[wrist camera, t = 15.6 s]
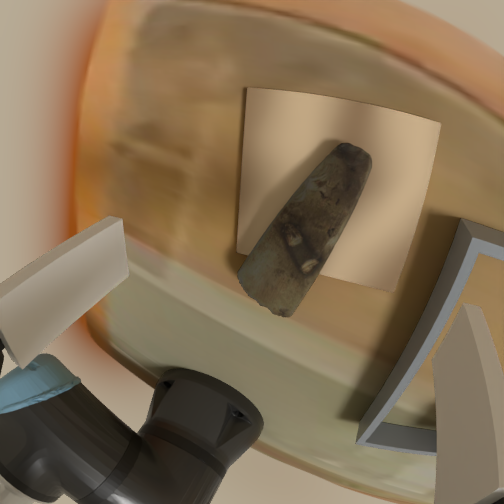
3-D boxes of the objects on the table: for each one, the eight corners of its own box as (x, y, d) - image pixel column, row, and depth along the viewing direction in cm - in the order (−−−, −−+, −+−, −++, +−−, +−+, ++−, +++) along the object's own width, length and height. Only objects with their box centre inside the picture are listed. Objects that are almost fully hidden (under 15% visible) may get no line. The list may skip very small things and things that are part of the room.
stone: (293, 309, 24) (284, 326, 22) (239, 275, 24) (226, 290, 23) (387, 161, 17) (389, 168, 15) (315, 120, 17) (307, 121, 15)
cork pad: (239, 249, 24) (236, 252, 24) (250, 87, 18) (247, 87, 18) (393, 289, 21) (393, 293, 20) (439, 122, 15) (441, 123, 14)
